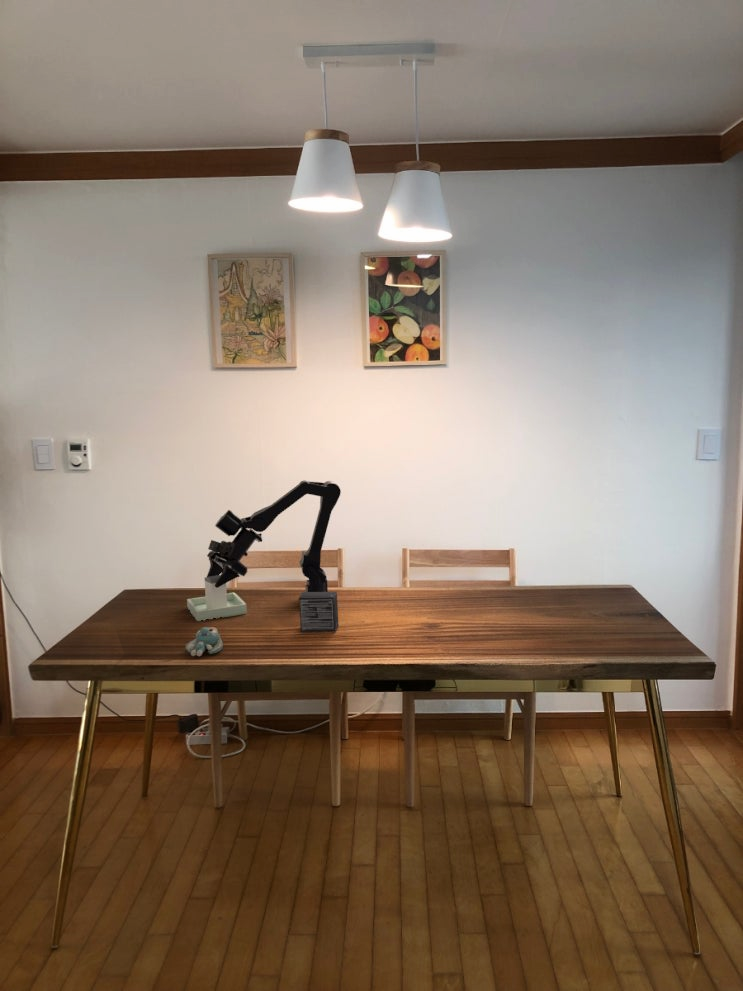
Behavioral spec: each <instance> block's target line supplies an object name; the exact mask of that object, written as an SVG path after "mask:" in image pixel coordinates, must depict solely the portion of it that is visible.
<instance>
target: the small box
mask: <svg viewBox="0 0 743 991" xmlns="http://www.w3.org/2000/svg"><path fill="white" fill-rule="evenodd" d="M298 602H299V604H298V605H299V619H300V621H299V623H300V632H301V633H315V632H314V631H318V632H317V633H322V631H324V632H323V633H325V631H327V632H326V633H329V631H331V632H332V631H334V632H335V633H336V631H337V630H338V628H339V625H340V624H339V607H338V591H328V592H304V591H302V592H301V594H300V595H299V597H298ZM311 631H312V632H311ZM331 632H330V633H331Z"/></svg>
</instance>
